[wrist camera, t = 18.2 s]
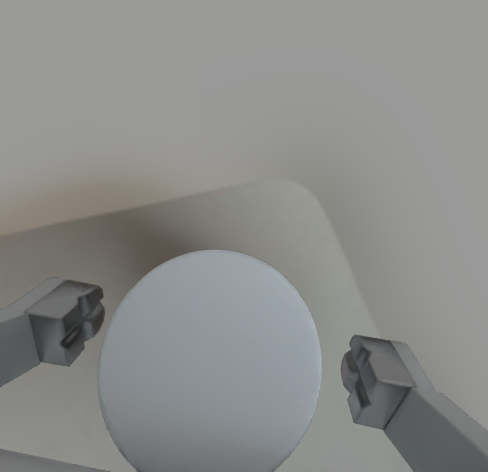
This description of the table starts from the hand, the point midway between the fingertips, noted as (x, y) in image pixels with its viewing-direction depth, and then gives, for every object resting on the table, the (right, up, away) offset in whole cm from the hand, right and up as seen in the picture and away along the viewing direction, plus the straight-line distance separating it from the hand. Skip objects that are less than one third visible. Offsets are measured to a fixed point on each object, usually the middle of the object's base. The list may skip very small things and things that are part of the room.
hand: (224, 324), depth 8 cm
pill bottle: (0, -2, +4) cm, 5 cm away
